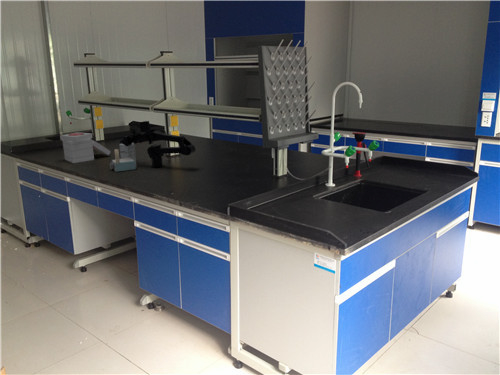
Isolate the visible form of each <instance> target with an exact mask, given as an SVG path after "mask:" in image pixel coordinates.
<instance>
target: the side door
mask: <svg viewBox="0 0 500 375" xmlns="http://www.w3.org/2000/svg"><path fill="white" fill-rule="evenodd" d="M119 152H120V149H119V148H118V149H117V148H116V149H115V148H114V158H115V159H114V160H116V163H115V166H116V171H115V172H116V173H117V172H124V171H131V170H137V169H138V168H137V160H136V161H128V162H120V159H121V158H120V153H119Z"/></svg>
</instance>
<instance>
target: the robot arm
mask: <svg viewBox="0 0 500 375" xmlns="http://www.w3.org/2000/svg"><path fill="white" fill-rule="evenodd" d="M138 126H139V127H138ZM128 131H129V132H130V134H131V136H130V135H126V136H122V139H120V140H119V144H124V145H125V146H130V145H131V144H132V143H134V145H136V144H142V143H147V142H148V144H149V145H150V147H148V148H147V149H146V152H147V154H148V156H149V158H150V159H151V165H150V167H151V168H156V169H158V168H161V167H164V166H165V165H164V164H163V157H164V154H166V155H167V154H170V155H171V154H180V155H183V156H189V155H192V154H194V153H195V152H196V147H195V145H193V144H192V143H191V141H189V140H188V139H187V138H186V137H185V136H184V135H176V134H169V133H168V134H167V133H164V132H162V131H159V130H156V129H154V128H151V124H150V121H149V120H144V121H139V122H138V125H132V126H131V127H129V130H128ZM158 141H159V142H160V141H166V142H172V143H177V144H178V145H179V146H162V144H153V143H154V142H158Z"/></svg>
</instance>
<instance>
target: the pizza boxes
mask: <svg viewBox="0 0 500 375" xmlns="http://www.w3.org/2000/svg"><path fill="white" fill-rule="evenodd" d="M59 138H60V141H62V147H63V155H64V160H65V161H67V162H69V163H72V164H76V163H83V162H89V161H94V160H95V156H94V155H95V154H94V150H95V151H97V152H99V153H100V154H104V155H107V156H110V154H111V153H112V152H111V150H110V149H108V148H106V147H105V146H103V145H101V144H100V143H99V142H97V141H95V140H93V133H90V132H89V133H88V132H72V133H67V134H61V135H59Z"/></svg>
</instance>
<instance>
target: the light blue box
mask: <svg viewBox="0 0 500 375" xmlns="http://www.w3.org/2000/svg"><path fill="white" fill-rule="evenodd" d="M119 159H120V162H128V161H134V160H133V159H132V158H124V159H121V158H119ZM115 163H116V160H115V159H111V162H109V168H110V170H114V171H115V172H116V166H115Z"/></svg>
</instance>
